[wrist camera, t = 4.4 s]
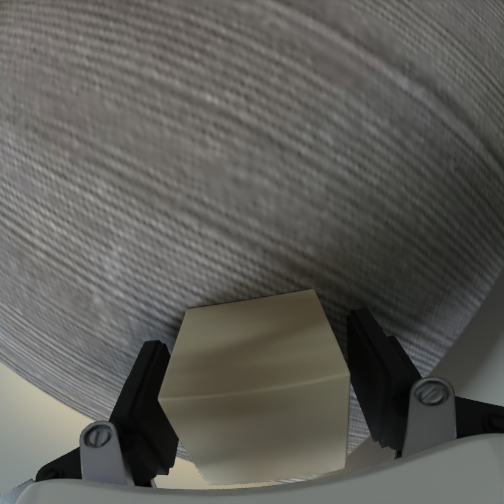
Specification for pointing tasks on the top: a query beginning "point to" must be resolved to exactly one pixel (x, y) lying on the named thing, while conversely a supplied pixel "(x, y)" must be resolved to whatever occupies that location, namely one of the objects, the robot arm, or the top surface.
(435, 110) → the top surface
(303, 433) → the block
